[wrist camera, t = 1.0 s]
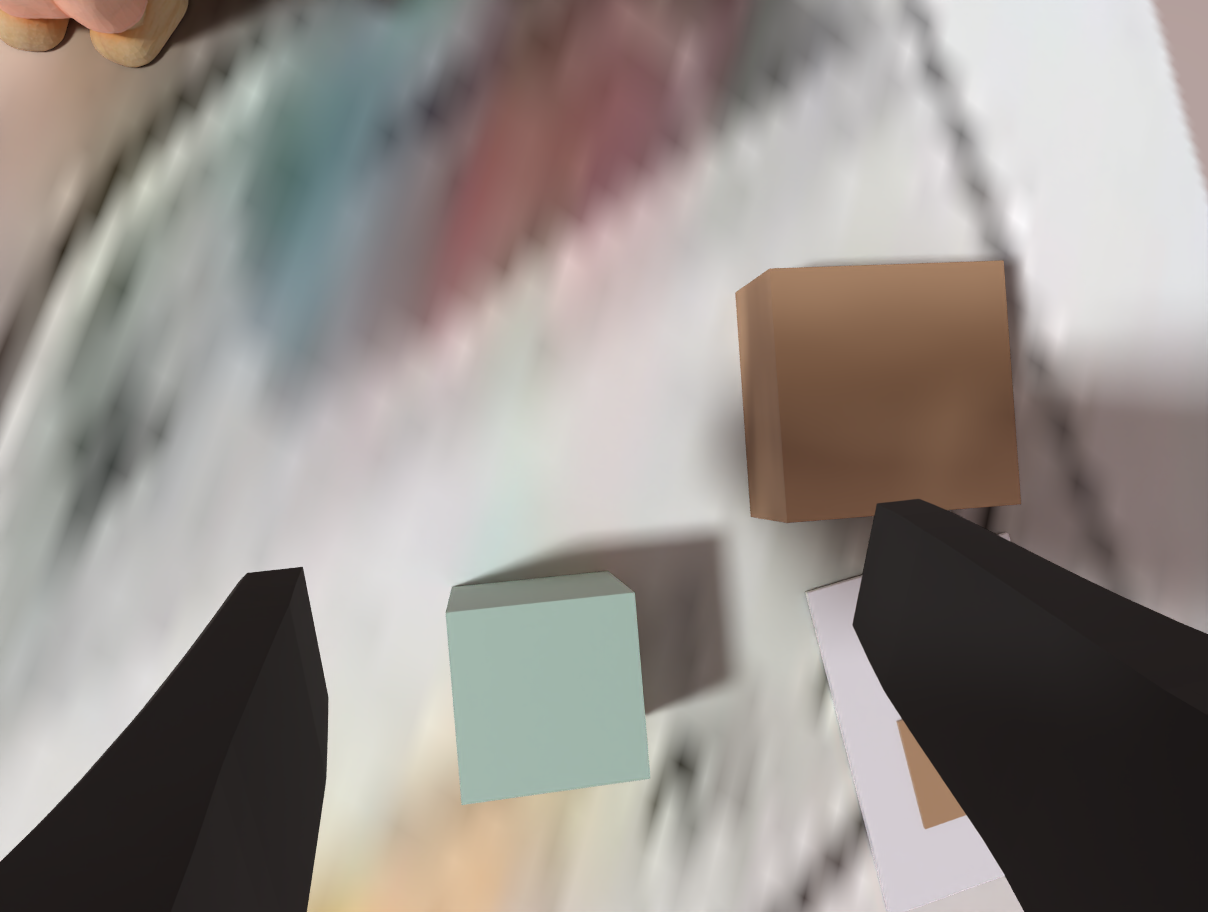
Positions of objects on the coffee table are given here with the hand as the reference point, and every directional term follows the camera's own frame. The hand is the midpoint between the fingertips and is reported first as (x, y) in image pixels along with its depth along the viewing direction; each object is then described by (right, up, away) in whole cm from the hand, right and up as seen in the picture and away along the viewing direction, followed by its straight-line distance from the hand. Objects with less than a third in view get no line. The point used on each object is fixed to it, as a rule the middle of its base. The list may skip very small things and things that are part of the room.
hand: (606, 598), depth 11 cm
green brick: (-2, -3, +11) cm, 12 cm away
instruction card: (+9, -5, +13) cm, 17 cm away
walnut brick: (+7, +3, +13) cm, 15 cm away
